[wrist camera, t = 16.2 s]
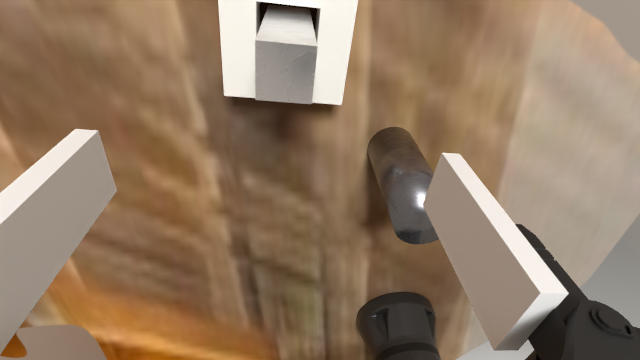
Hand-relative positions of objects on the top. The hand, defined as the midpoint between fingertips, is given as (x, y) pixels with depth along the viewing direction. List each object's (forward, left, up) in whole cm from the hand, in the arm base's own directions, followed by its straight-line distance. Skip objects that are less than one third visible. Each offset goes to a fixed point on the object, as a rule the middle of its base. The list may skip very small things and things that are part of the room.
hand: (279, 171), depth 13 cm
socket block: (0, 0, -25) cm, 25 cm away
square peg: (0, 0, -25) cm, 25 cm away
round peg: (-13, -14, -25) cm, 32 cm away
